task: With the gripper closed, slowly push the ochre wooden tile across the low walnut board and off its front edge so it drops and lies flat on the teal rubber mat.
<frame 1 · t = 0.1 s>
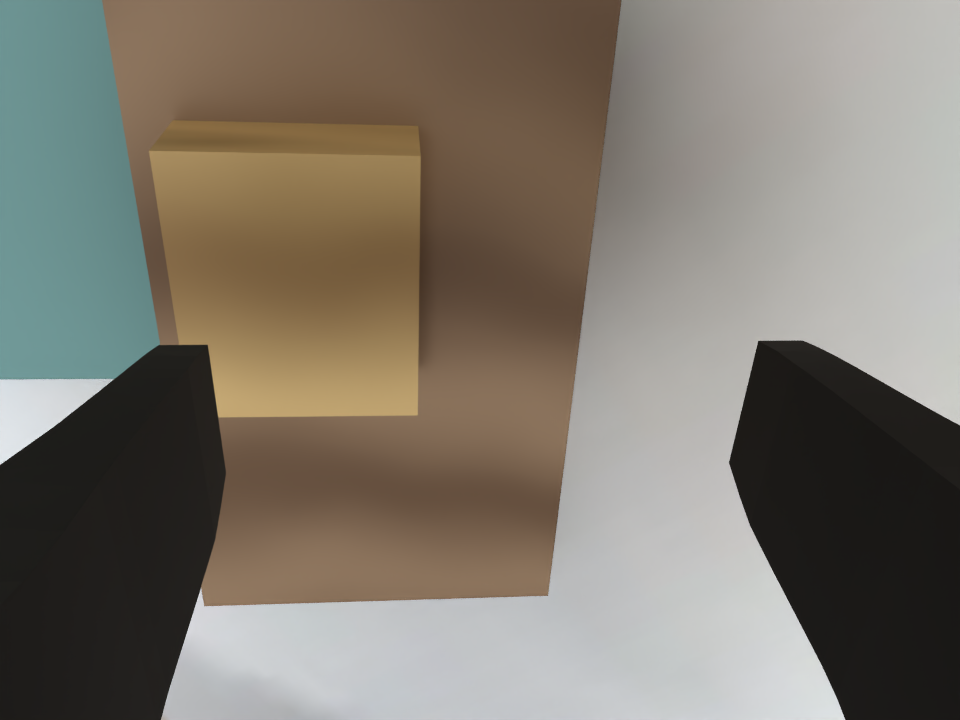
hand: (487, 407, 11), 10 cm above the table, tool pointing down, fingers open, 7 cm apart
tile: (305, 256, 19), point 1 cm above the table, touching deck
deck: (374, 268, 21), on the table
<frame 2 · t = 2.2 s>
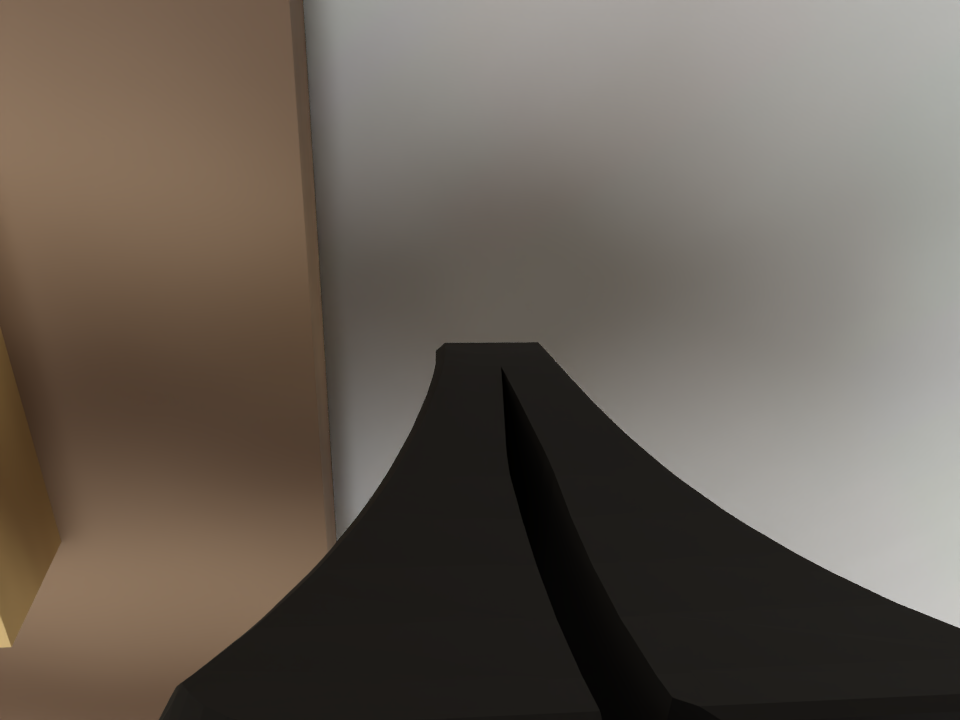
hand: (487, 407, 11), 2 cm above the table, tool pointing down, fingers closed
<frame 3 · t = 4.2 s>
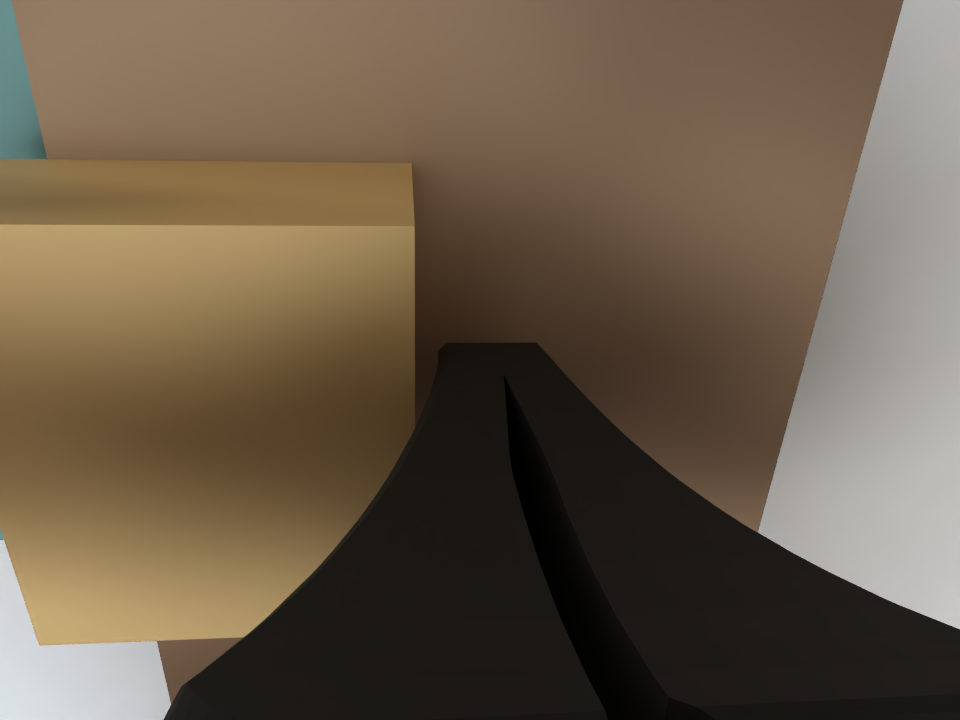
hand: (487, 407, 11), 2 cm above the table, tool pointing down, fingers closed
tile: (230, 373, 12), point 2 cm above the table, touching deck, gripper
deck: (455, 375, 14), on the table
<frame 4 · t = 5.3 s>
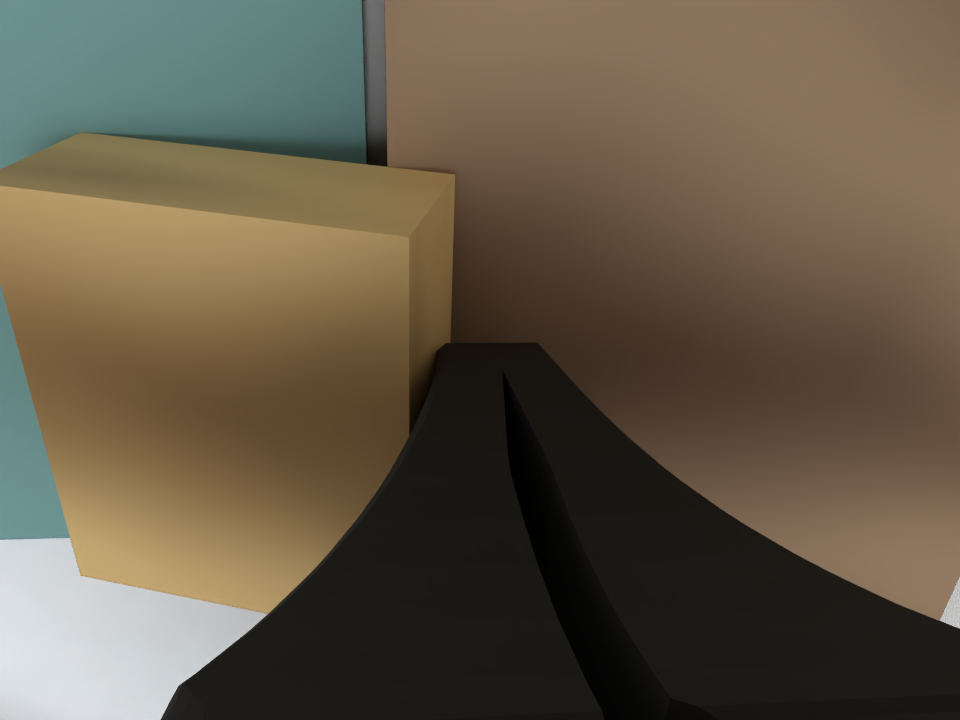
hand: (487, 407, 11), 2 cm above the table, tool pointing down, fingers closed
tile: (280, 357, 12), point 1 cm above the table, tilted 17°, touching deck, gripper, mat
deck: (693, 372, 14), on the table
mat: (102, 46, 11), on the table
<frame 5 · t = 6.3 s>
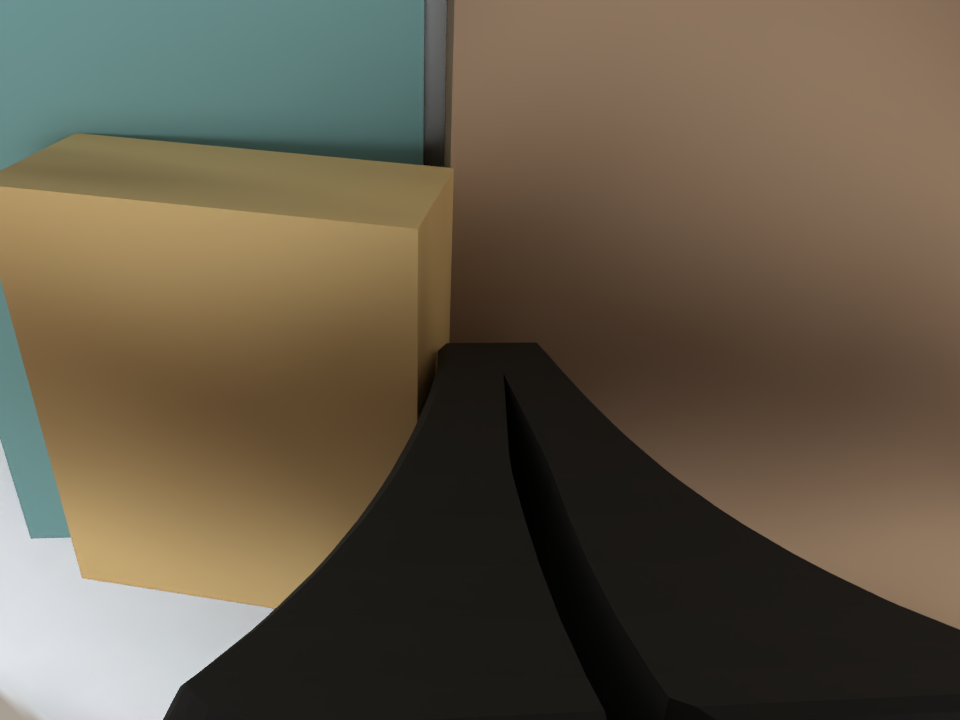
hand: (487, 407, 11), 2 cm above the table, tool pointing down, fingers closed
tile: (278, 353, 12), point 1 cm above the table, tilted 14°, touching gripper, mat
deck: (738, 372, 14), on the table
mat: (165, 47, 11), on the table
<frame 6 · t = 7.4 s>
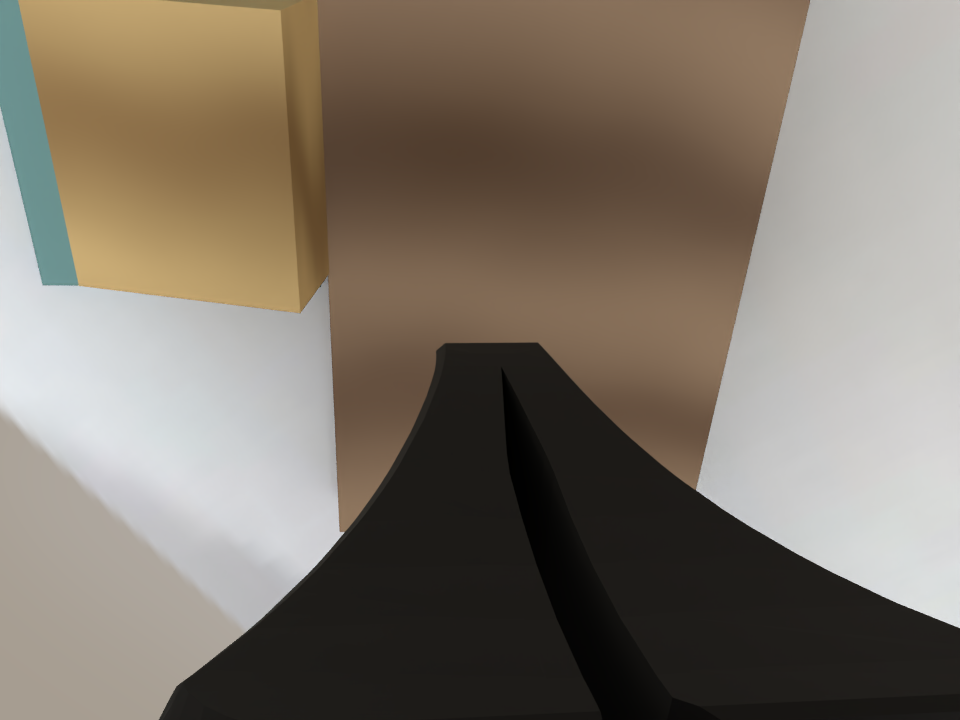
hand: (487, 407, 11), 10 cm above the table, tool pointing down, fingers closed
tile: (211, 134, 18), point 1 cm above the table, tilted 14°, touching deck, mat
deck: (540, 170, 20), on the table
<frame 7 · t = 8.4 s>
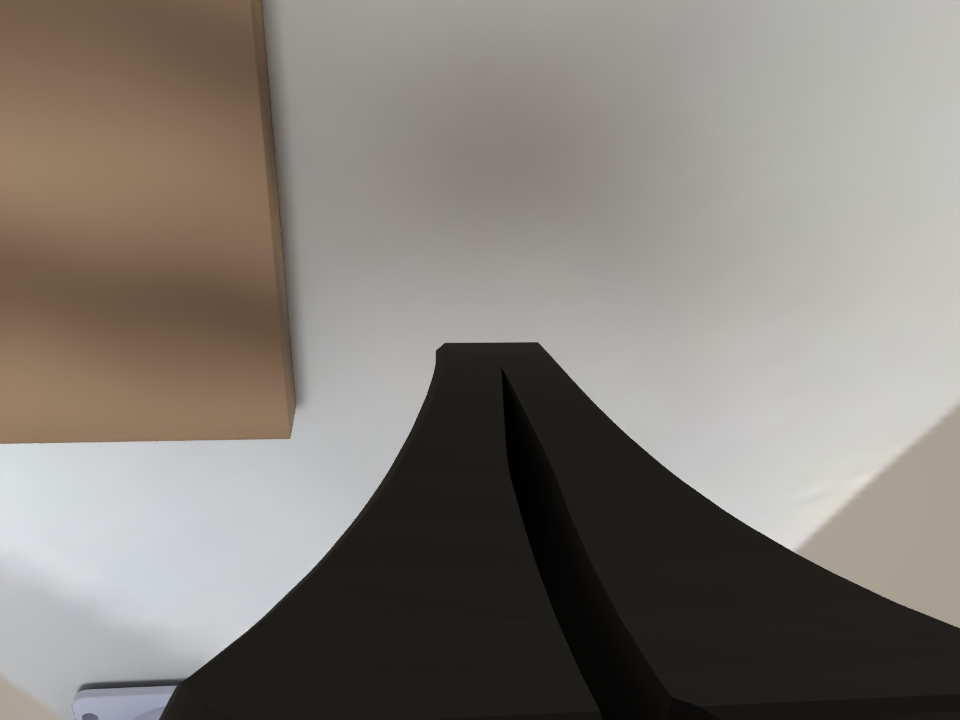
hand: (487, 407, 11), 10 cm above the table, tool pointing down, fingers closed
deck: (18, 11, 18), on the table
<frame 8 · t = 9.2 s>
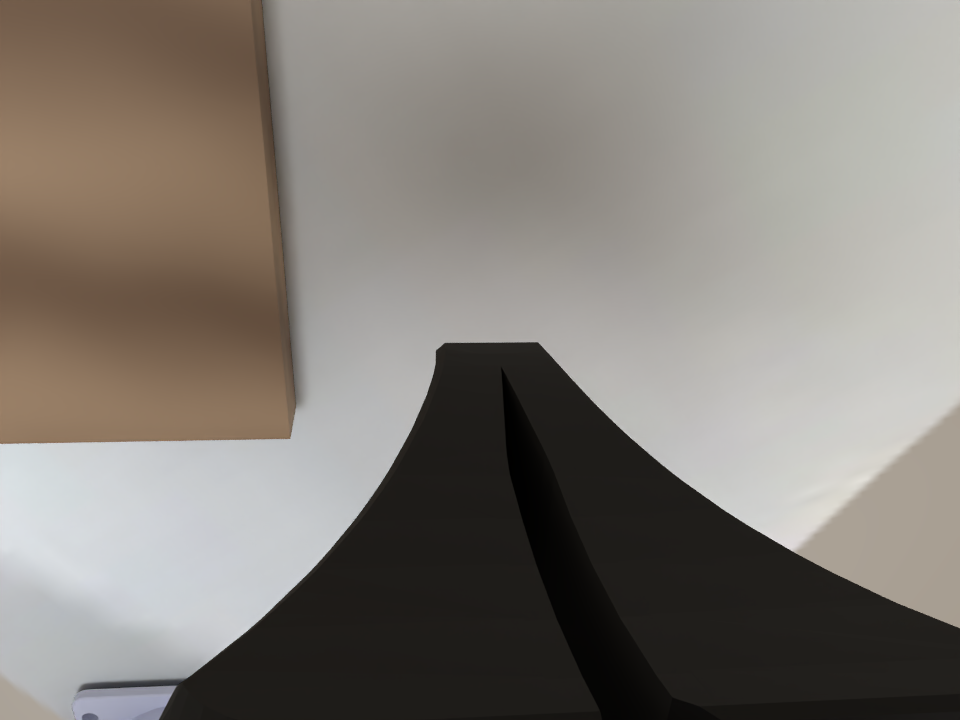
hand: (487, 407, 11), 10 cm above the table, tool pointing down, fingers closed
deck: (18, 11, 18), on the table
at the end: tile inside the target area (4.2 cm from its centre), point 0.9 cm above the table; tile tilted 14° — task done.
